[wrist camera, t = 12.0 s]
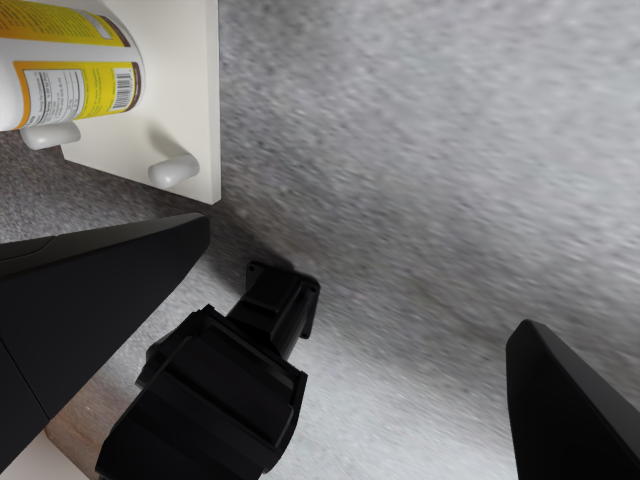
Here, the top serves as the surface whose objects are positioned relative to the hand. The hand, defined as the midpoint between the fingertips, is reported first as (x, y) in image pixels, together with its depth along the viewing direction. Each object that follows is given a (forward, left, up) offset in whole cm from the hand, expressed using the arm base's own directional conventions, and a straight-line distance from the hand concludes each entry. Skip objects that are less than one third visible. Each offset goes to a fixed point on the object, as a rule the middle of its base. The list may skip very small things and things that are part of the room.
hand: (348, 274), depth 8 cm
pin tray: (+2, +19, -12) cm, 23 cm away
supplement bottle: (+2, +19, -11) cm, 22 cm away
